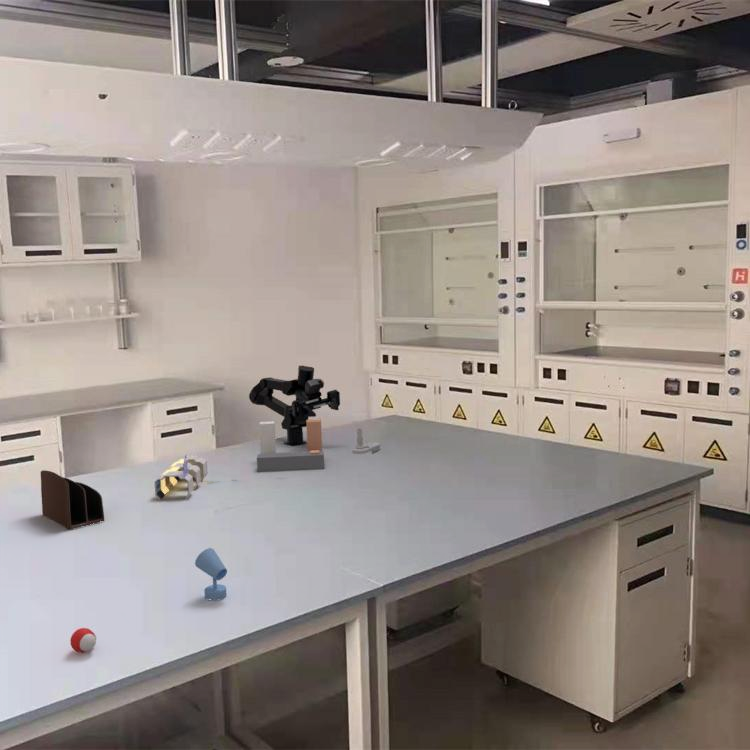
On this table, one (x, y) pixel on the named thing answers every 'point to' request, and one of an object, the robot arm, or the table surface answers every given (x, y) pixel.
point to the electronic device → (366, 447)
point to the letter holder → (70, 501)
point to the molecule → (83, 640)
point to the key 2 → (314, 435)
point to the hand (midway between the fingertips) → (326, 412)
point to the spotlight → (212, 573)
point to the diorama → (181, 474)
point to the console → (290, 461)
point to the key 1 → (267, 437)
